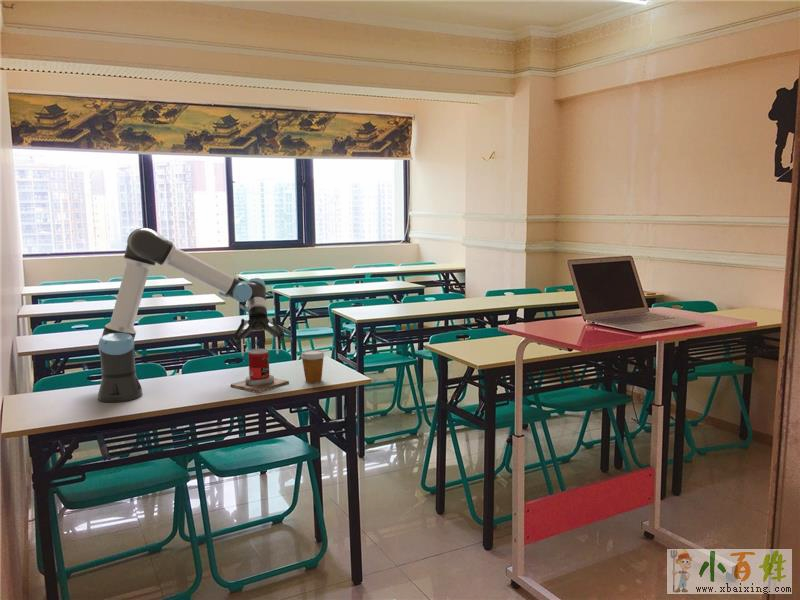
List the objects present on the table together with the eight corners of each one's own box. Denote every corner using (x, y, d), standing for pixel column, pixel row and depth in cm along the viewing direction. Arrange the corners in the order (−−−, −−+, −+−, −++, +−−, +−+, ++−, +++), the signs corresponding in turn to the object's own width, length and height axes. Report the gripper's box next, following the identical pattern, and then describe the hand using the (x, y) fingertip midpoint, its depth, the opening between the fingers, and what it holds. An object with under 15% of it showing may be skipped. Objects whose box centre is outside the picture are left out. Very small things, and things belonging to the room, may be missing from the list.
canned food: (265, 380, 244) (264, 352, 243) (246, 379, 246) (244, 352, 244) (272, 375, 252) (271, 348, 250) (253, 374, 253) (252, 348, 252)
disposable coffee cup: (323, 384, 249) (322, 354, 247) (299, 384, 249) (298, 354, 248) (326, 378, 258) (326, 349, 257) (303, 378, 259) (302, 349, 257)
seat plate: (230, 386, 247) (230, 379, 247) (261, 378, 260) (261, 370, 260) (258, 392, 238) (257, 385, 238) (288, 383, 251) (288, 376, 250)
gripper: (287, 314, 268) (291, 356, 256) (227, 317, 262) (228, 360, 250) (288, 303, 262) (292, 346, 250) (226, 306, 257) (227, 349, 244)
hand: (260, 353), depth 250 cm, fingers open, 13 cm apart
